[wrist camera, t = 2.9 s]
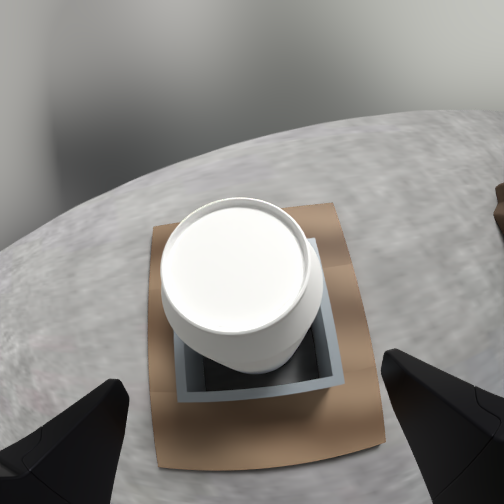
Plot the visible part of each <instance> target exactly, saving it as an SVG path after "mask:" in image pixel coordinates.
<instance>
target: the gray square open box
mask: <svg viewBox="0 0 504 504" xmlns="http://www.w3.org/2000/svg"><path fill="white" fill-rule="evenodd" d="M307 240H308V242H309V243H310V244H311V246H312V247H313V249H314V251H315V253H316V255H317V257H318V260H319V262H320V266H321V270H322V275H323V293H322V299H321V303H320V307H319V310H318V312H317V315H316V317H315V319H314V321H313V323H312V324H311V326H312V333H313V338H314V345H315V350H316V357H317V364H318V370H319V377H320V379H314V380H309V381H303V382H297V383H290V384H284V385H276V386H269V387H260V388H251V389H240V390H227V391H210V392H206V388H205V376H204V364H203V355H202V354H200V353H198V352H196V351H195V350H193V349H192V348H190V347H189V346H188V345H187V344H186V343H184V342H183V341H182V340H181V339H180V338H179V336H178V335H177V334H176V333H175V331H174V356H175V374H176V389H177V401H178V402H219V401H235V400H247V399H257V398H266V397H274V396H282V395H289V394H295V393H301V392H307V391H313V390H318V389H323V388H328V387H333V386H337V385H342V384H345V381H344V375H343V368H342V362H341V357H340V351H339V345H338V340H337V334H336V329H335V324H334V319H333V314H332V309H331V304H330V300H329V295H328V291H327V286H326V282H325V277H324V273H323V269H322V264H321V260H320V256H319V252H318V248H317V244H316V240H315V238H309V239H307Z"/></svg>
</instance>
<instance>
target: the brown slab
mask: <svg viewBox="0 0 504 504" xmlns="http://www.w3.org/2000/svg"><path fill="white" fill-rule="evenodd" d="M280 209H282V210H283V211H285V212H286V213H287V214H289V215H290V216H291V217H292V218H293V219H294V220H295V221H296V222H297V224H298V225H299V226H300V228H301V229H302V231H303V232H304V234H305V236H306V239H309V238H315V240H316V244H317V248H318V252H319V256H320V260H321V264H322V269H323V273H324V277H325V282H326V286H327V291H328V295H329V300H330V304H331V309H332V314H333V319H334V324H335V329H336V334H337V340H338V345H339V351H340V357H341V362H342V368H343V375H344V381H345V384H342V385H337V386H333V387H328V388H323V389H318V390H313V391H307V392H301V393H295V394H289V395H282V396H274V397H266V398H257V399H247V400H235V401H219V402H178V401H177V389H176V374H175V356H174V330H173V328H172V327H171V325H170V323H169V321H168V319H167V317H166V314H165V311H164V308H163V304H162V296H161V284H162V282H161V275H160V266H161V258H162V254H163V251H164V248H165V245H166V243H167V241H168V239H169V237H170V235H171V234H172V232H173V231H174V230H175V228H176V227H177V226H178V225H179V224H180V223H181V222H179V223H173V224H167V225H161V226H155V227H153V236H152V248H151V261H150V277H149V300H148V362H149V385H150V400H151V412H152V423H153V432H154V441H155V448H156V455H157V462H158V467H162V468H172V469H186V470H248V469H262V468H272V467H281V466H288V465H295V464H302V463H307V462H313V461H318V460H323V459H328V458H332V457H337V456H341V455H345V454H349V453H352V452H356V451H360V450H363V449H366V448H370V447H373V446H376V445H379V444H382V443H385V442H386V438H385V428H384V419H383V410H382V403H381V396H380V389H379V382H378V376H377V370H376V365H375V359H374V354H373V349H372V343H371V339H370V334H369V329H368V325H367V320H366V316H365V311H364V307H363V303H362V299H361V295H360V291H359V287H358V283H357V279H356V276H355V272H354V268H353V265H352V261H351V258H350V254H349V251H348V248H347V244H346V241H345V238H344V235H343V231H342V228H341V225H340V222H339V219H338V216H337V213H336V210H335V207H334V204H333V203H325V204H315V205H306V206H297V207H288V208H280ZM311 329H312V326H311ZM312 335H313V333H312ZM313 340H314V338H313ZM314 347H315V345H314ZM315 353H316V350H315ZM316 359H317V357H316ZM317 365H318V364H317ZM318 372H319V370H318ZM319 378H320V377H319Z"/></svg>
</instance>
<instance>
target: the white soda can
mask: <svg viewBox="0 0 504 504" xmlns="http://www.w3.org/2000/svg"><path fill="white" fill-rule="evenodd" d="M160 275H161V282H162V284H161V296H162V304H163V308H164V311H165V314H166V317H167V319H168V321H169V323H170V325H171V327H172V328H173V330H174V331H175V333H176V334H177V335H178V336H179V338H180V339H181V340H182V341H183V342H184V343H186V344H187V345H188V346H189V347H190V348H192V349H193V350H195V351H196V352H198V353H200V354H202V355H203V356H205V357H207V358H210V359H212V360H214V361H216V362H218V363H220V364H222V365H224V366H227V367H229V368H231V369H234V370H236V371H239V372H242V373H246V374H264V373H268V372H271V371H273V370H276V369H278V368H279V367H281V366H282V365H284V364H285V363H286V362H287V361H288V360H289V359H290V358H291V357H292V355H293V354H294V352H295V351H296V349H297V348H298V346H299V345H300V343H301V341H302V340H303V338H304V336H305V335H306V333H307V331H308V330H309V328H310V326H311V324H312V323H313V321H314V319H315V317H316V315H317V312H318V310H319V307H320V303H321V299H322V293H323V275H322V270H321V266H320V262H319V260H318V257H317V255H316V253H315V251H314V249H313V247H312V246H311V244H310V243H309V242H308V240H307V239H306V236H305V234H304V232H303V231H302V229H301V228H300V226H299V225H298V224H297V222H296V221H295V220H294V219H293V218H292V217H291V216H290V215H289V214H287V213H286V212H285V211H283V210H282V209H280V208H279V207H277V206H275V205H273V204H270V203H268V202H265V201H262V200H258V199H252V198H228V199H223V200H218V201H215V202H212V203H209V204H207V205H205V206H203V207H201V208H199V209H197V210H195V211H194V212H192V213H191V214H190V215H188V216H187V217H186V218H185V219H184V220H183V221H182V222H181V223H180V224H179V225H178V226H177V227H176V228H175V230H174V231H173V232H172V234H171V235H170V237H169V239H168V241H167V243H166V245H165V248H164V251H163V254H162V258H161V266H160Z"/></svg>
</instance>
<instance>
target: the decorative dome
mask: <svg viewBox="0 0 504 504" xmlns="http://www.w3.org/2000/svg"><path fill="white" fill-rule="evenodd" d="M495 190H496V195H497V199H498V205H497V207H496V209H495V211H494V214H493V215H494V218H495V220H496V222H497V223H498V225H499V227H500V229H501V231H502V233H503V235H504V183H501V184H499V185H498V186H496V188H495Z"/></svg>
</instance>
